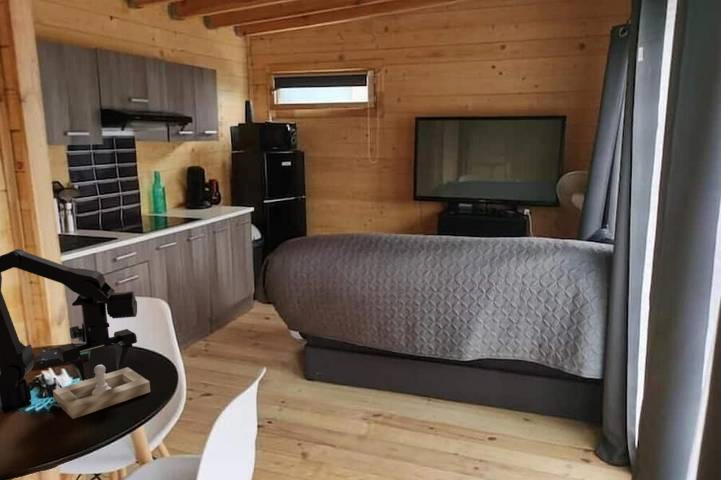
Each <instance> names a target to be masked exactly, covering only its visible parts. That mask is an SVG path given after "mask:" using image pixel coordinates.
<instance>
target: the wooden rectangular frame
mask: <svg viewBox="0 0 721 480" xmlns="http://www.w3.org/2000/svg"><path fill="white" fill-rule="evenodd" d="M105 374H106V376H105V377H104V380H105V383H107V386H109V387H111V388H112V389H109V390H106V391H103V392H100V393H97V394H94V395H92V392H93V390H94V389H95V388H96V387H95V386H96V385H97V382H98V378H95V376H94V377H92V378H88V379H85V381H82V380H81V381H78V382H75V383H72V384H70V385H69V384H68V385H65V386H63V387H59V388H56V389H53V390H52V394H53V395H52V396H53V401H54V400H55V401H56V402H57V403H58V404H59V405H60V406H59V405H58V404H57V403H56V402H55V401H54V402H55V403H56V404H57V405H58V406H59V407H60V408H61V409H62V410H63V411H64V412H65V413H66V414H67V416H69V417H70V418H71V419H72V420H74V419H76V418H79V417H83V416H85V415H88V414H91V413H95V412H97V411H100V410H103V409H106V408H109V407H111V406H114V405H117V404H120V403H122V402H126V401H128V400H129V401H130V400H131V399H134V398H137V397H139V396H144V395H146V394H148V393H151V384H150V383H151V382H150V380H148V379H146V378H145V377H143V376H142V375H141V374H139V373H137V372H136V371H134V370H133V369H131V368H130V367H128V366H127V367H124V368H120V370H115V371H111V372H108V373H105ZM81 397H82V398H81ZM78 398H79V399H78Z"/></svg>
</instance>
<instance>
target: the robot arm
mask: <svg viewBox="0 0 721 480" xmlns="http://www.w3.org/2000/svg"><path fill="white" fill-rule="evenodd" d="M13 268H14V269H19V270H21V271H25V272H27V273H29V274H33V275H35V276H39V277H42V278H45V279H48V280H50V281H53V282H56V283H60V284H61V285H63V286H65V287H67V288H68V289H69V290H70V291H71V292H73V293H75V294H77V298H76V299H75V300H74V301H73V302H72V303H71V306H73V307H77V306H80V307H81V314H82V322H81V328H80V327H79V325H76V326H72V327H69V335H70V339H71V340H74V339H78V341H79V342H82V344H84V345H80V346H76V345H77V344H75V343H73V342H71V343H67V344H64V345H60V346H58V347H57V348H58V349H57V351H56V352H57V357H58V358H59V359H60V360H62V361H63V362H68V363H67V364H69V365H72V366H73V367H74V369H75V370H76V373H77V375H78V376H79V378H80V380H81V382H82V381H85V380H86V379H85V378H86V376H85V375H86V374H85V370H84V368H85V367H84V361H82V359H81V358H80V356H81V354H80V353H82V352H86V351H90V352H91V351H93V350H97V349H100V348H104V347H107V346H111V345H114V349H115V365H116V369H117V370H120V369H122V365H123V362H124V360H125V358H126V355H127V353H128V352H129V350H130V348H132V347H133V344H136V343H137V342H138V340H137V339H138V337H137V334H136V332H133V331H131V330H130V329H128V328H125V329H121V330H118V331H114V333H113V336H110V334H109V333H110V332H109V328H110V323H109V322H108V316H109V318H112V319H113V320H114V319H124V318H125V319H126V318H135V317H137V314H138V301H137V299H136V296H135V292H134V291H133V290H131V291H126V292H116V291H115V290H114V288H112V287H111V286H110V285H109V283H107V281H106V278H105V275H104V274H103V273H102V272H100V271H97V270H92V269H88V268H87V269H86V268H73V267H69V266H66V265H64V264H61V263H58V262H56V261H53V260H50V259H47V258H44V257H41V256H39V255H35V254H32V253H29V252H27V251H25V250H24V249H20V248H15V249H13V250H11V251H10V252H7V253H5V254H1V255H0V411H1V412H2V413H3V414H6V413H10V412H12V411H16V410H19V409H22V408H24V407H28V406H31V405H32V403H33V402H32V401H31V400H32V395H31V394H32V392H31V386H30V384H29V383H28V382H27V381H28V380H27V379H25V377H27V376H28V374H29V372H30V371H31V370H32V369H33V367H34V365H35V359H37V355H35V354H34V352H33V347H32V345H31V344H28V345H26V346H25V345H24V344H23V343H22V342H21V340H20V339H19V336H18V332H17V331H16V330H17V329H16V328H15V327H16V326H14V322H13V320H12V317H11V313H10V312H9V309H8V306H7V304H6V300H5V297H4V295H3V292H2V283H3V276H2V273H4V272H6V271H9V270H11V269H13ZM117 370H116V371H117Z"/></svg>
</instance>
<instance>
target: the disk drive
mask: <svg viewBox="0 0 721 480" xmlns="http://www.w3.org/2000/svg"><path fill="white" fill-rule="evenodd" d="M84 344H85V343H79V344H75V345H76V346H80V345H84ZM57 349H58V347H52V348H45V349H40V350H39V351H38V354H37V355H36V358H35V359H36V360H35V368H36V369H41V368H46V367H51V366H53V367H54V366H60V365H65V364H69V363H68V362H63V361H62V360H60V359H59V358H58V357H57V352H56V351H57ZM80 354H81V356H80V358H81V359H82V361H83V362H85V361H90V358H91V350H90V351H86V352H82V353H80Z"/></svg>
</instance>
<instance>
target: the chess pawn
mask: <svg viewBox="0 0 721 480" xmlns="http://www.w3.org/2000/svg"><path fill="white" fill-rule="evenodd" d="M106 370H107V368H106V366H105V365H103V364H98V365H96V366H95V367H94V368H93V373H94V374H95V375H94V377H95V378H98V382H97V385H96V386H95V387H96V388H95V389H94V390H93V392H92V394H91V395H94V394H97V393H100V392H103V391H106V390H109V389H112V388H113V387H112V388H111V387H109V386H107V383H105V380H104V377H105V376H106V374H107V373H106Z"/></svg>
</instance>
